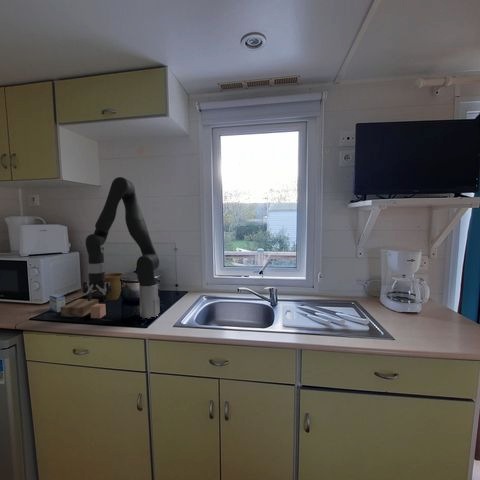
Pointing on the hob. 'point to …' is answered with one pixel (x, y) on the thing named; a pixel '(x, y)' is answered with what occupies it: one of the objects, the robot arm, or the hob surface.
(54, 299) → the medicine box
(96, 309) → the terracotta block
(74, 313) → the walnut plinth
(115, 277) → the plant pot
